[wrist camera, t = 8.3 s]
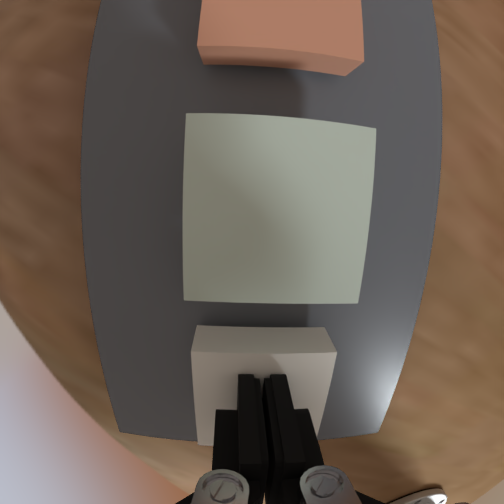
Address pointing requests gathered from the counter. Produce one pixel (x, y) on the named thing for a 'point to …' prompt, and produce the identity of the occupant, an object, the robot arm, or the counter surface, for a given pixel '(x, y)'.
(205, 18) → the terracotta key
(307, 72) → the keypad
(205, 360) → the cream key
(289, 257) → the sage key
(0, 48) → the counter surface
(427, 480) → the counter surface
